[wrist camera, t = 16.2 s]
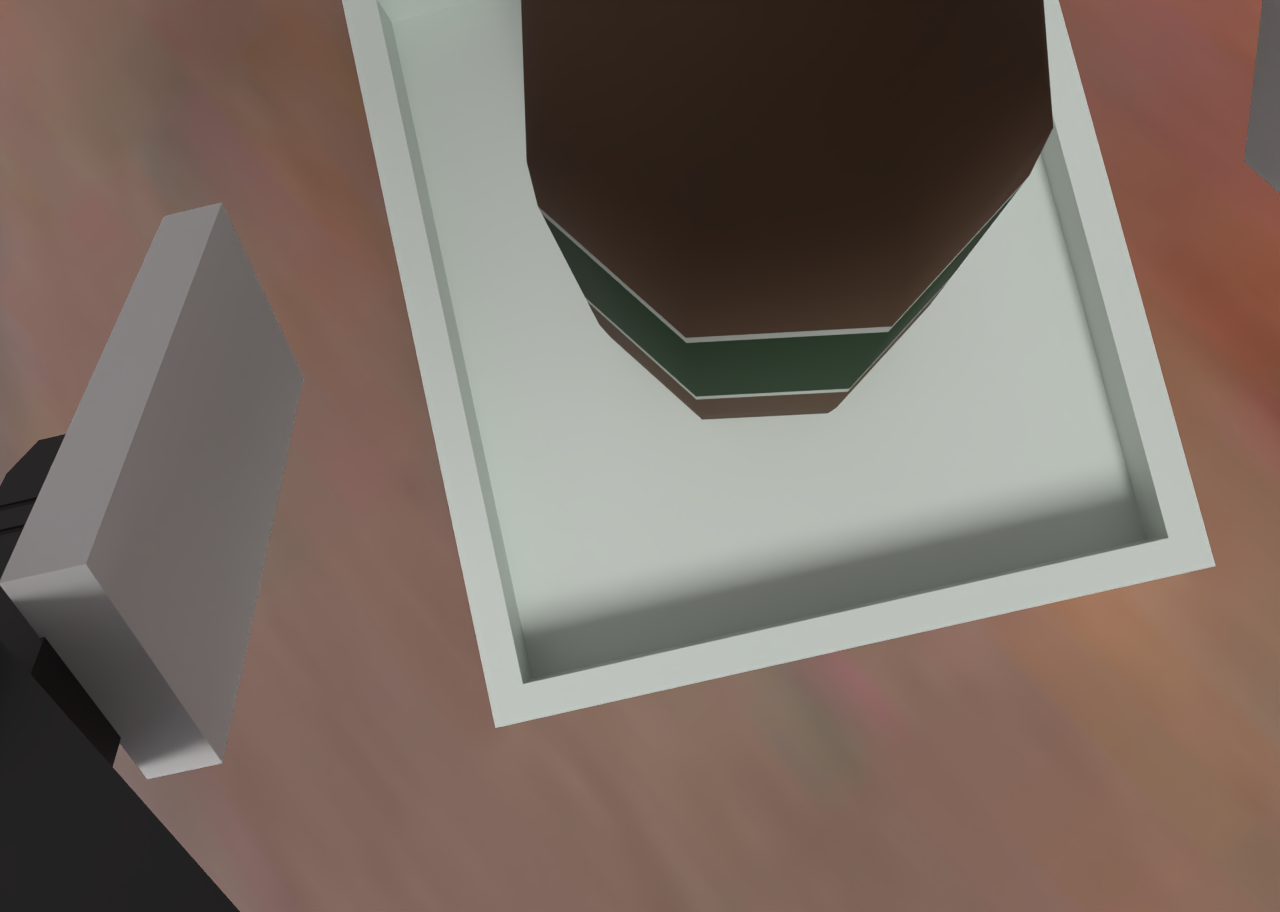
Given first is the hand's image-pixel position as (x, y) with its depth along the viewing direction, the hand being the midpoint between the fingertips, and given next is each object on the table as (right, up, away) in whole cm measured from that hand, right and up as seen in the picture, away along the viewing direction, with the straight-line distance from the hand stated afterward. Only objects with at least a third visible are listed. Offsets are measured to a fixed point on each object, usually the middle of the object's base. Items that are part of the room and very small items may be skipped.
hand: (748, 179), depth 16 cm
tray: (+1, +1, +14) cm, 14 cm away
